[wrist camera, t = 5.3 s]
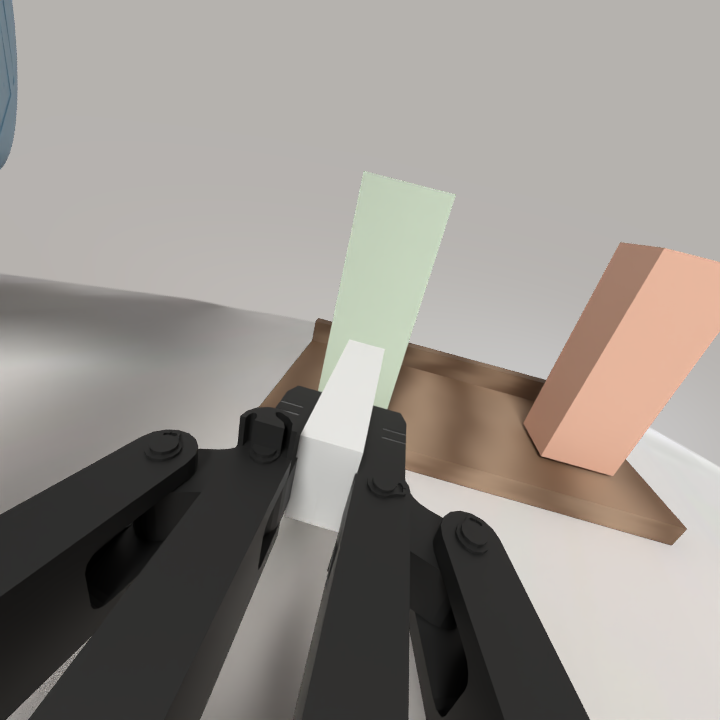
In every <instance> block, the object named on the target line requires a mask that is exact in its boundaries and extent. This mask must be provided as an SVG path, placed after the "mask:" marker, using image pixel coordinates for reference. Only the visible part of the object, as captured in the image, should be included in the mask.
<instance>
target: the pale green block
mask: <svg viewBox="0 0 720 720" xmlns="http://www.w3.org/2000/svg"><path fill="white" fill-rule="evenodd" d="M455 196H456V195H455V194H451V193H447V192H443V191H439V190H436V189H432V188H428V187H424V186H420V185H416V184H412V183H408V182H404V181H400V180H396V179H392V178H389V177H384V176H381V175H377V174H373V173H369V172H365V171H364V173H363V177H362V182H361V187H360V192H359V196H358V201H357V206H356V211H355V216H354V220H353V225H352V230H351V235H350V240H349V245H348V250H347V254H346V259H345V264H344V269H343V273H342V278H341V283H340V288H339V293H338V297H337V302H336V307H335V312H334V317H333V321H332V326H331V331H330V336H329V340H328V345H327V350H326V355H325V359H324V364H323V369H322V374H321V379H320V383H319V388H318V391H320V392H323V390H324V388H325V386H326V384H327V382H328V380H329V378H330V376H331V374H332V372H333V370H334V369H335V367H336V365H337V363H338V361H339V359H340V357H341V355H342V353H343V351H344V349H345V347H346V345H347V343H348V341H349V339H350V340H354V341H357V342H361V343H365V344H368V345H372V346H375V347H379V348H383V349H385V351H384V355H383V360H382V365H381V370H380V375H379V379H378V384H377V389H376V394H375V399H374V403H373V405H374V406H377V407H381V408H384V409H388V405H389V402H390V399H391V396H392V393H393V390H394V387H395V383H396V380H397V377H398V374H399V371H400V368H401V365H402V362H403V358H404V355H405V352H406V349H407V346H408V343H409V340H410V336H411V333H412V330H413V327H414V324H415V321H416V318H417V315H418V311H419V308H420V305H421V302H422V299H423V296H424V293H425V289H426V286H427V283H428V280H429V277H430V274H431V271H432V268H433V265H434V261H435V258H436V255H437V252H438V249H439V246H440V243H441V239H442V236H443V233H444V230H445V227H446V223H447V221H448V217H449V214H450V211H451V208H452V205H453V202H454V199H455Z"/></svg>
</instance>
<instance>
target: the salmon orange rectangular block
mask: <svg viewBox="0 0 720 720" xmlns="http://www.w3.org/2000/svg"><path fill="white" fill-rule="evenodd" d="M719 332H720V262H717V261H714V260H710V259H706V258H702V257H698V256H694V255H690V254H686V253H682V252H678V251H674V250H670V249H666V248H660V247H652V246H645V245H637V244H629V243H620V244H619V246H618V248H617V250H616V251H615V253H614V255H613V257H612V259H611V261H610V263H609V265H608V266H607V268H606V270H605V272H604V274H603V275H602V278H601V279H600V281H599V283H598V285H597V287H596V289H595V290H594V292H593V294H592V296H591V298H590V300H589V302H588V304H587V305H586V307H585V309H584V311H583V313H582V315H581V317H580V319H579V320H578V322H577V324H576V326H575V328H574V330H573V331H572V333H571V335H570V337H569V339H568V341H567V343H566V344H565V346H564V348H563V351H562V352H561V354H560V356H559V358H558V359H557V361H556V363H555V365H554V367H553V369H552V371H551V372H550V375H549V376H548V378H547V380H546V382H545V384H544V385H543V387H542V389H541V391H540V393H539V395H538V397H537V398H536V400H535V402H534V404H533V406H532V408H531V410H530V411H529V413H528V415H527V417H526V419H525V421H524V423H523V424H524V425H525V427H526V429H527V431H528V433H529V435H530V437H531V438H532V440H533V442H534V444H535V446H536V448H537V450H538V451H539V453H540V455H541V456H543V457H546V458H550V459H554V460H557V461H561V462H564V463H568V464H571V465H575V466H579V467H582V468H586V469H589V470H593V471H596V472H600V473H604V474H607V475H611V476H614V474H615V473H616V471H617V470H618V469H619V467H620V466H621V465H622V463H623V462H624V461H625V459H626V458H627V457H628V455H629V454H630V452H631V451H632V450H633V448H634V447H635V446H636V444H637V443H638V442H639V440H640V439H641V438H642V436H643V435H644V433H645V432H646V431H647V429H648V428H649V427H650V425H651V424H652V422H653V421H654V420H655V418H656V417H657V416H658V414H659V413H660V412H661V410H662V409H663V408H664V406H665V405H666V404H667V402H668V401H669V399H670V398H671V397H672V395H673V394H674V393H675V391H676V390H677V389H678V387H679V386H680V385H681V383H682V382H683V380H684V379H685V378H686V376H687V375H688V374H689V372H690V371H691V369H692V368H693V367H694V365H695V364H696V363H697V361H698V360H699V359H700V357H701V356H702V355H703V353H704V352H705V351H706V349H707V348H708V346H709V345H710V344H711V342H712V341H713V340H714V338H715V337H716V336H717V334H718V333H719Z"/></svg>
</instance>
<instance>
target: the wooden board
mask: <svg viewBox="0 0 720 720" xmlns="http://www.w3.org/2000/svg"><path fill="white" fill-rule="evenodd" d="M331 326H332V322H331V321H327V320H324V319H320V318H318V319H317V320H316V323H315V328H314V333H313V339H312V341H311V342H310V344H309V345H308V346H307V347H306V349H305V350H304V351H303V352H302V354H301V355H300V356H299V358H298V359H297V360H296V361H295V363H294V364H293V365H292V366H291V368H290V369H289V370H288V371H287V373H286V374H285V375H284V376H283V378H282V379H281V380H280V381H279V383H278V384H277V385H276V386H275V388H274V389H273V390H272V391H271V393H270V394H269V395H268V396H267V398H266V399H265V400H264V401H263V403H262V404H261V405H260V406H259V407H273V408H276V406H277V405H278V403H279V402H280V401H281V399H282V398H283V396H284V395H285V394H286V392H287V391H288V390H290V389H292V388H294V387H296V386H298V385H299V386H302V387H306V388H309V389H313V390H316V391H318V388H319V383H320V379H321V374H322V369H323V364H324V359H325V355H326V350H327V345H328V340H329V336H330V331H331ZM545 382H546V380H544V379H540V378H537V377H533V376H529V375H525V374H522V373H518V372H515V371H511V370H507V369H504V368H500V367H496V366H493V365H489V364H485V363H481V362H478V361H474V360H470V359H467V358H463V357H459V356H456V355H452V354H449V353H445V352H441V351H437V350H434V349H430V348H426V347H423V346H419V345H415V344H412V343H408V346H407V349H406V352H405V355H404V358H403V362H402V365H401V368H400V371H399V374H398V377H397V380H396V383H395V387H394V390H393V393H392V396H391V399H390V402H389V405H388V410H391V411H395V412H398V413H401V414H402V416H403V418H404V420H405V422H406V424H407V427H406V462H405V469H406V470H410V471H413V472H417V473H420V474H424V475H427V476H431V477H434V478H438V479H441V480H445V481H448V482H452V483H455V484H459V485H462V486H466V487H469V488H473V489H476V490H480V491H483V492H487V493H490V494H494V495H497V496H501V497H504V498H508V499H511V500H515V501H518V502H522V503H525V504H529V505H532V506H536V507H539V508H543V509H546V510H550V511H553V512H557V513H560V514H564V515H567V516H571V517H574V518H578V519H581V520H585V521H588V522H592V523H595V524H599V525H602V526H606V527H609V528H613V529H616V530H620V531H623V532H627V533H630V534H634V535H637V536H641V537H644V538H648V539H651V540H655V541H658V542H662V543H665V544H669V545H673V544H674V542H675V541H676V540H677V539H678V538H679V537H680V536H681V535H682V534H683V533H684V532H685V531H686V530H687V528H686V527H685V526H684V525H683V524H682V523H681V521H680V520H679V519H678V518H677V517H676V516H675V515H674V514H673V512H672V511H671V510H670V509H669V508H668V507H667V506H666V504H665V503H664V502H663V501H662V500H661V499H660V498H659V497H658V495H657V494H656V493H655V492H654V491H653V490H652V489H651V487H650V486H649V485H648V484H647V483H646V482H645V481H644V479H643V478H642V477H641V476H640V475H639V474H638V473H637V472H636V470H635V469H634V468H633V467H632V466H631V465H630V464H629V462H628V461H627V460H626V459H625V461H624V462H623V463H622V465H621V466H620V467H619V469H618V470H617V471H616V473H615V474H614V476H611V475H607V474H604V473H600V472H596V471H593V470H589V469H586V468H582V467H579V466H575V465H571V464H568V463H564V462H561V461H557V460H554V459H550V458H546V457H543V456H541V455H540V453H539V451H538V450H537V448H536V446H535V444H534V442H533V440H532V438H531V437H530V435H529V433H528V431H527V429H526V427H525V425H524V424H523V423H524V421H525V419H526V417H527V415H528V413H529V411H530V410H531V408H532V406H533V404H534V402H535V400H536V398H537V397H538V395H539V393H540V391H541V389H542V387H543V385H544V384H545Z"/></svg>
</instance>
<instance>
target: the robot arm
mask: <svg viewBox="0 0 720 720" xmlns="http://www.w3.org/2000/svg"><path fill="white" fill-rule="evenodd" d="M16 110H17V53H16V37H15V23H14V14H13V5H12V0H0V169H1V168H2V167H3V166H4V164H5V162H6V160H7V158H8V156H9V154H10V150H11V147H12V143H13V138H14V131H15V124H16ZM384 351H385V349H383V348H379V347H375V346H372V345H368V344H365V343H361V342H357V341H354V340H350V339H349V341H348V343H347V345H346V347H345V349H344V351H343V353H342V355H341V357H340V359H339V361H338V363H337V365H336V367H335V369H334V370H333V372H332V374H331V376H330V378H329V380H328V382H327V384H326V386H325V388H324V390H323V392H320V391H316V390H313V389H309V388H306V387H302V386H299V385H298V386H296V387H294V388H292V389H290V390H288V391H287V392H286V394H285V395H284V396H283V398H282V399H281V401H280V402H279V403H278V405H277V406H276V408H273V407H257V408H254V409H251V410H248V411H246V412H245V413H244V414H242V415H241V416H240V425H239V435H238V445H237V446H236V447H235V448H231V449H221V450H216V449H198V444H197V441H196V439H195V438H194V437H193V436H191V435H190V434H189V433H186V432H183V431H180V430H161V431H155V432H152V433H149V434H147V435H144V436H142V437H140V438H138V439H136V440H135V441H133V442H131V443H129V444H127V445H126V446H124V447H122V448H120V449H118V450H117V451H115V452H113V453H111V454H109V455H107V456H106V457H104V458H102V459H100V460H98V461H97V462H95V463H93V464H91V465H89V466H88V467H86V468H84V469H82V470H80V471H79V472H77V473H75V474H73V475H71V476H70V477H68V478H66V479H64V480H62V481H60V482H59V483H57V484H55V485H53V486H51V487H50V488H48V489H46V490H44V491H42V492H41V493H39V494H37V495H35V496H33V497H32V498H30V499H28V500H26V501H24V502H23V503H21V504H19V505H17V506H15V507H13V508H12V509H10V510H8V511H6V512H4V513H3V514H1V515H0V720H6V719H7V718H8V717H9V716H10V715H11V714H12V713H13V712H14V711H15V710H16V709H17V708H18V707H19V706H20V705H21V704H22V703H23V702H24V701H25V700H26V699H27V698H29V697H30V696H31V695H32V694H33V693H34V692H35V691H36V690H37V689H38V688H39V687H40V686H41V685H42V684H43V683H44V682H45V681H46V680H47V679H48V678H49V677H50V676H51V675H52V674H53V673H54V672H55V671H56V670H57V669H58V668H59V667H60V666H61V665H62V664H63V663H64V662H65V661H66V660H68V659H69V658H70V657H71V656H72V655H73V654H74V653H75V652H76V651H77V650H78V649H79V648H80V647H81V646H82V645H83V644H84V643H85V642H86V641H87V640H88V639H89V638H90V637H91V636H92V637H91V638H90V639H89V641H88V642H87V643H86V645H85V646H84V647H83V648H82V650H81V651H80V652H79V654H78V655H77V656H76V658H75V659H74V660H73V662H72V663H71V664H70V666H69V667H68V668H67V670H66V671H65V672H64V673H63V675H62V676H61V677H60V679H59V680H58V681H57V683H56V684H55V685H54V687H53V688H52V689H51V691H50V692H49V693H48V694H47V696H46V697H45V698H44V700H43V701H42V702H41V704H40V705H39V706H38V708H37V709H36V710H35V712H34V713H33V714H32V716H31V717H30V718H29V719H28V720H200V718H201V716H202V714H203V711H204V709H205V706H206V704H207V702H208V699H209V697H210V695H211V692H212V690H213V687H214V685H215V683H216V680H217V678H218V676H219V673H220V671H221V668H222V666H223V664H224V661H225V659H226V657H227V654H228V652H229V649H230V647H231V645H232V642H233V640H234V637H235V635H236V633H237V630H238V628H239V626H240V623H241V621H242V618H243V616H244V614H245V611H246V609H247V607H248V604H249V602H250V599H251V597H252V595H253V592H254V590H255V587H256V585H257V583H258V580H259V578H260V576H261V573H262V571H263V568H264V566H265V564H266V561H267V559H268V557H269V554H270V552H271V549H272V547H273V545H274V542H275V540H276V537H277V535H278V529H279V524H280V520H281V518H282V516H283V514H284V511H285V509H286V511H285V517H288V518H292V519H295V520H298V521H302V522H305V523H309V524H312V525H315V526H319V527H322V528H325V529H329V530H332V531H335V532H339V533H338V537H337V540H336V544H335V547H334V550H333V554H332V557H331V560H330V563H329V567H328V570H327V571H328V575H327V579H326V583H325V587H324V591H323V596H322V600H321V604H320V608H319V612H318V616H317V621H316V625H315V629H314V633H313V637H312V641H311V646H310V650H309V654H308V658H307V662H306V666H305V671H304V675H303V679H302V683H301V687H300V691H299V696H298V700H297V704H296V708H295V712H294V716H293V720H408V707H409V630H410V635H411V641H412V646H413V651H414V656H415V662H416V667H417V672H418V678H419V683H420V688H421V694H422V699H423V704H424V709H425V715H426V720H590V719H589V717H588V715H587V713H586V711H585V709H584V707H583V705H582V703H581V701H580V699H579V697H578V695H577V693H576V691H575V689H574V687H573V685H572V683H571V681H570V679H569V677H568V675H567V673H566V671H565V669H564V667H563V665H562V663H561V661H560V659H559V657H558V655H557V653H556V651H555V649H554V647H553V645H552V643H551V641H550V639H549V637H548V635H547V633H546V631H545V629H544V627H543V625H542V623H541V621H540V619H539V617H538V615H537V613H536V611H535V609H534V607H533V605H532V603H531V601H530V599H529V597H528V595H527V593H526V591H525V589H524V587H523V585H522V583H521V581H520V579H519V577H518V575H517V573H516V571H515V569H514V567H513V565H512V563H511V561H510V559H509V557H508V555H507V553H506V551H505V549H504V547H503V545H502V543H501V541H500V539H499V538H498V536H497V535H496V533H495V532H494V530H493V529H492V528H491V527H490V526H489V525H488V524H486V523H485V522H484V521H483V520H482V519H480V518H478V517H476V516H475V515H473V514H470V513H467V512H463V511H454V512H450V513H448V514H447V515H445V516H444V517H443V518H442V517H440V516H438V515H437V514H435V513H433V512H432V511H430V510H428V509H427V508H425V507H424V506H422V505H421V504H420V503H418V502H417V501H416V500H415V499H414V498H413V496H412V495H411V493H410V489H409V486H408V484H407V483H406V481H405V462H406V427H407V424H406V422H405V420H404V418H403V416H402V414H401V413H398V412H395V411H391V410H388V409H384V408H381V407H377V406H374V405H373V403H374V399H375V394H376V389H377V384H378V379H379V375H380V370H381V365H382V360H383V355H384Z"/></svg>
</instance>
